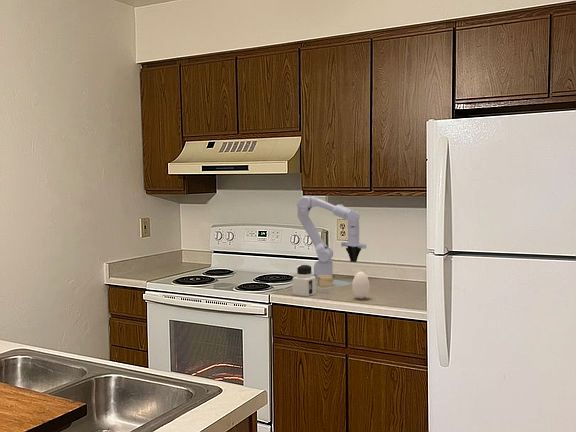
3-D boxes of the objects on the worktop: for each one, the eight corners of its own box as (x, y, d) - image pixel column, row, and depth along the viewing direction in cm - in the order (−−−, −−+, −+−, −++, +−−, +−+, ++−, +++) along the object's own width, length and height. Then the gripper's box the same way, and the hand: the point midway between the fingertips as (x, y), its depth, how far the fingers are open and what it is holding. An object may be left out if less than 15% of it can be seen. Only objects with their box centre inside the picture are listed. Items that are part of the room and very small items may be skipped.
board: (304, 287, 288) (304, 285, 288) (335, 281, 302) (335, 279, 302) (324, 291, 277) (324, 289, 277) (356, 285, 291) (356, 283, 291)
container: (316, 293, 273) (316, 265, 272) (306, 296, 266) (306, 267, 265) (301, 291, 277) (301, 263, 276) (292, 294, 271) (292, 265, 270)
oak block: (317, 283, 291) (317, 275, 291) (330, 283, 292) (329, 275, 292) (320, 286, 285) (320, 277, 285) (333, 285, 286) (332, 277, 286)
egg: (359, 296, 266) (359, 269, 265) (373, 298, 261) (373, 271, 260) (348, 298, 261) (348, 271, 260) (362, 301, 256) (361, 273, 255)
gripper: (337, 234, 305) (337, 261, 306) (359, 236, 295) (359, 264, 296) (346, 233, 310) (346, 259, 311) (368, 235, 300) (368, 262, 301)
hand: (353, 261), depth 304 cm, fingers closed
